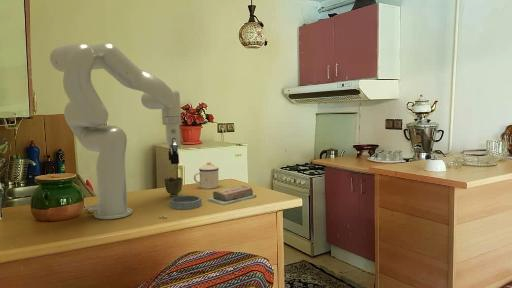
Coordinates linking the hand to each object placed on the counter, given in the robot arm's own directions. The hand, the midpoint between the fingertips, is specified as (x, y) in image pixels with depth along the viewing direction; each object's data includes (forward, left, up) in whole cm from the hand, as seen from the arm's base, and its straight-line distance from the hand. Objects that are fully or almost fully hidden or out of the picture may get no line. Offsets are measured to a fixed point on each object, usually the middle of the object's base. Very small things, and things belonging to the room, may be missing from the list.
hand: (173, 161), depth 164 cm
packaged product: (+22, -12, -16) cm, 29 cm away
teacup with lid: (+16, +14, -15) cm, 26 cm away
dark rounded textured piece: (0, 0, -15) cm, 15 cm away
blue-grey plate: (+3, -15, -15) cm, 21 cm away
